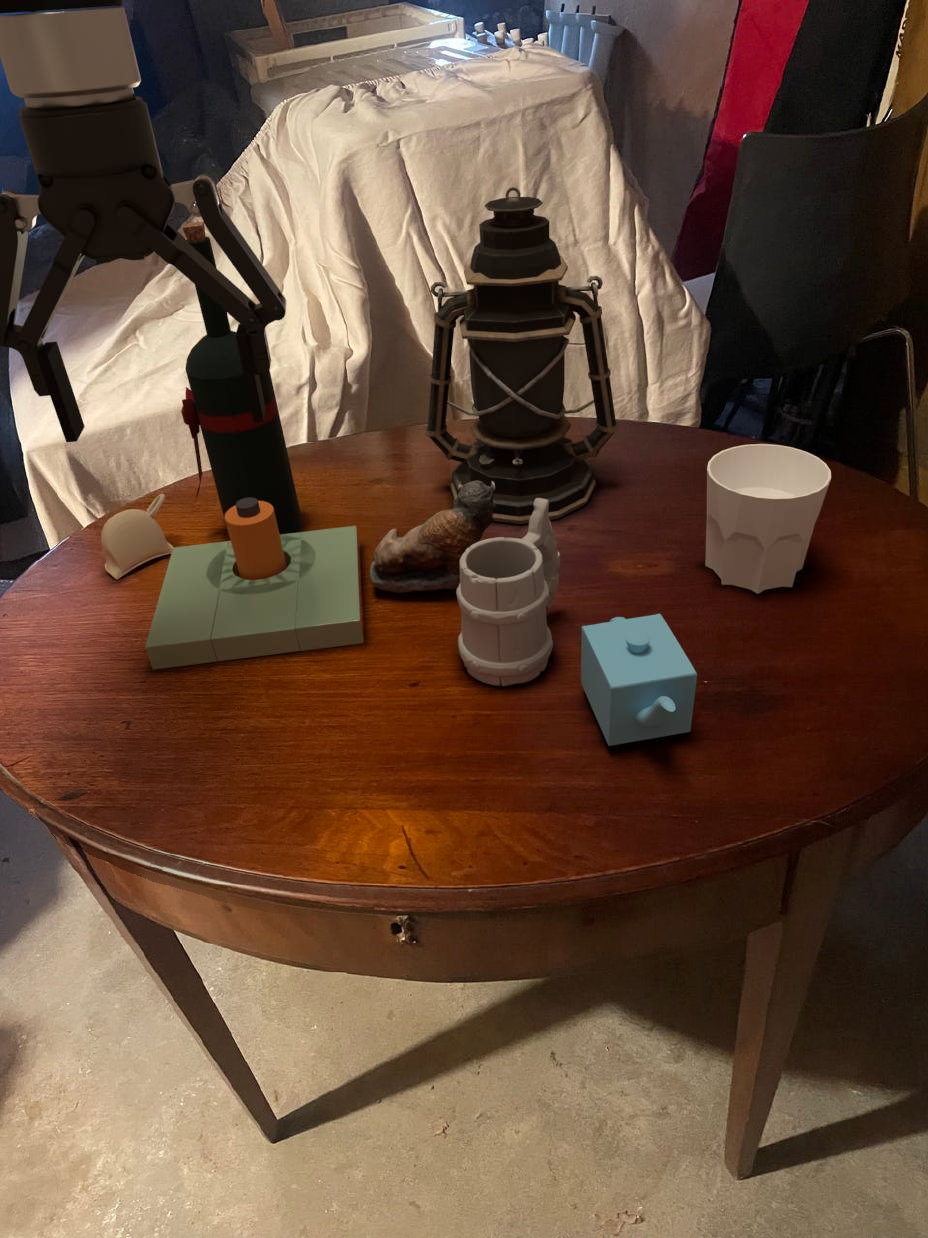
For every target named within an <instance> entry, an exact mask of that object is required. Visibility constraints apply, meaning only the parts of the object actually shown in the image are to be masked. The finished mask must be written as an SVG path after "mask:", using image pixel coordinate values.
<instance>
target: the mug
mask: <svg viewBox="0 0 928 1238" xmlns="http://www.w3.org/2000/svg"><path fill="white" fill-rule="evenodd" d="M533 505H534V511H533V513H532V516H531V517H530V520H529V523H528V529H527V533H526V534H525V535H524V537H521V538H517V537H504V536H498V537H492V538H491V537H490V538H487V539H483V540H481V541H479V542H477V543H475V544H473V545H471V546H470V547H469V548H467V549H466V551H465V553H464V554H463V555H462V556H461V558H460V584H459V587H458V588H456V591H455V594H456V598H457V603H458V606H459V609H460V613H461V616H460V617H461V620H460V621H461V623H460V624H461V626H460V627H461V628H460V629H461V630H460V632H459V635H458V637H457V647H458V653H459V656H460V658H461V660H462V661H463V665H464V668H466V671H467V673H468V674H469V675H470V676H471V677H473V678H474V679H476V680H478V681H480V682H482V683H485V684H487V685H491V686H496V687H497V686H498V687H500V686H502V687H507V686H511V685H517V684H525V683H527V682H530V681H532V680H534V679H536V678H537V677H538V676H539V675H541V672H544V671H545V669H546V668H547V665H548V663H549V662H548V661H549V658H550V656H551V653H552V650H553V647H554V641H553V635H552V632H551V630H550V628H549V626H548V622H547V611H548V610H551V609H552V606H553V602H554V597H555V594H557V593H558V591H559V590H558V589H559V583H560V572H559V569H560V567H561V553H560V552H559V551H558V547H557V545H558V541H557V540H556V537H555V533H554V530H553V526H552V522H551V520H549V514H548V508H549V501H548V500H547V499H542V498H536V499H535V501H534V504H533Z"/></svg>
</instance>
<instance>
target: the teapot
mask: <svg viewBox="0 0 928 1238" xmlns="http://www.w3.org/2000/svg"><path fill="white" fill-rule="evenodd" d="M580 641H581V645H580V647H581V649H580V651H581V652H580V658H581V659H580V684H581V686H582V688H583V691H584V693H585V696H586V697H587V700H588V703H589V705H590V707H591V709H592V711H593V714H594V716H595V718H596V720H597V723H598V725H599V728H600V730H601V733H602V734H603V737H604V740H605V741H606V744H607V746H608V747H610V746H617V745H622V744H628V743H633V742H640V741H646V740H651V739H656V738H662V737H669V736H675V735H681V734H685V733H690V732H691V730H692V720H693V714H694V704H695V697H696V689H697V680H698V673H697V671H696V670H695V668H694V666H693V664H692V663H691V661H690V659H689V658H688V656H687V655H686V653H685V651H684V649H683V648H682V646H681V644H680V643H679V641H678V640H677V638H676V636H675V635H674V633H673V632H672V630H671V628H670V626H669V625H668V623H667V622H666V620H665V619H664V617H663V616H662V614H661V613H656V614H650V615H644V616H636V617H631V618H626V617H624V616H615V617H613V618H611V619H610V620H609V621H605V622H601V623H595V624H588V625H582V626H581V640H580Z"/></svg>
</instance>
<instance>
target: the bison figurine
mask: <svg viewBox="0 0 928 1238" xmlns="http://www.w3.org/2000/svg"><path fill="white" fill-rule="evenodd" d="M491 484H492V486H491V487H489V486H486V485H485V484H484V483H483V482H482V481H472V482H469V483H467V484H465V485H462V482H460V483H459V485H458V490H459V494H458V497H457V499H453V500H452V503H453V508H450V509H443V510H441V511H438V512H436V513H435V514H434V515H433V516H431V517H429V518H428V519H427V520H426V521H425V522H424V523H423V524H420V525H417V526H416V527H414V528H412V529H410V530H409V531H408V532H407V533H406V534H405V535H403V536H400V535H399V529H397V528H392V529H390V530H389V531H388V532H387V533H386V535H384V537H383V538H382V539H381V540H380V542H379V543H378V545H377V546H376V548H375V549H374V551H373V555H372V562H371V564H370V568H369V579H370V582H371V584H372V586H373V587H375V588H377V589H379V590H382V591H389V592H392V593H397V594H401V593H402V594H403V593H405V594H406V593H411V592H419V591H420V592H421V591H422V592H423V591H424V592H425V591H426V592H427V591H437V590H447V589H449V590H453V589H457V588H458V587H459V584H460V558H461V556H462V555H463V554H464V553H465V551H466V549H467V548H469V547H470V546H471V545H473V544H475V543H477V542H479V541H482V540H481V539H482V538H483V535H484V533H485V531H486V530H487V529H488V528H489V527H490V526H491V525H492V524H493V523H494V522H495V521H494V519H493V509H494V508H496V505H495V501H494V500H493V495H494V492H495V484H494V482H493V481H491Z"/></svg>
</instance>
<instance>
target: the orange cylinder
mask: <svg viewBox="0 0 928 1238" xmlns="http://www.w3.org/2000/svg"><path fill="white" fill-rule="evenodd" d="M225 521H226V524H225V526H226V525H227V528H226V530H227V529H228V531H227V534H228V533H229V535H228V537H229V536H230V537H229V541H231V544H232V548H233V551H234V555H235V559H236V563H237V566H238V570H239V574H240V578H242V579H246V580H260V579H266V578H269V577H272V576H275V575H278V574H279V573H281V572H282V571H284V570H286V568H287V565H286V561H285V557H284V552H283V548H282V543H281V539H280V534H279V530H278V526H277V521H276V517H275V512H274V508H273V506H272V505H271V504H270V503H268V502H264V501H258V500H257V499H256V498H252V497H248V498H243V499H241V500H239V501H237V502H236V505H235V506H233V507H232V508H230V509H229V510H228V511H227V512H226V514H225V520H224V522H225Z"/></svg>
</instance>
